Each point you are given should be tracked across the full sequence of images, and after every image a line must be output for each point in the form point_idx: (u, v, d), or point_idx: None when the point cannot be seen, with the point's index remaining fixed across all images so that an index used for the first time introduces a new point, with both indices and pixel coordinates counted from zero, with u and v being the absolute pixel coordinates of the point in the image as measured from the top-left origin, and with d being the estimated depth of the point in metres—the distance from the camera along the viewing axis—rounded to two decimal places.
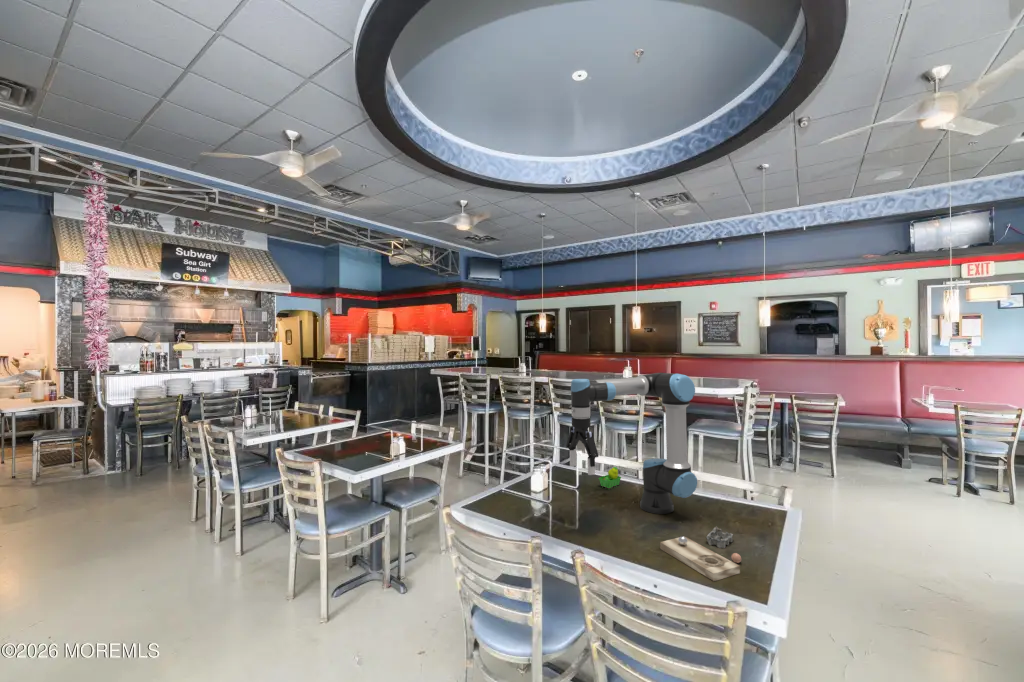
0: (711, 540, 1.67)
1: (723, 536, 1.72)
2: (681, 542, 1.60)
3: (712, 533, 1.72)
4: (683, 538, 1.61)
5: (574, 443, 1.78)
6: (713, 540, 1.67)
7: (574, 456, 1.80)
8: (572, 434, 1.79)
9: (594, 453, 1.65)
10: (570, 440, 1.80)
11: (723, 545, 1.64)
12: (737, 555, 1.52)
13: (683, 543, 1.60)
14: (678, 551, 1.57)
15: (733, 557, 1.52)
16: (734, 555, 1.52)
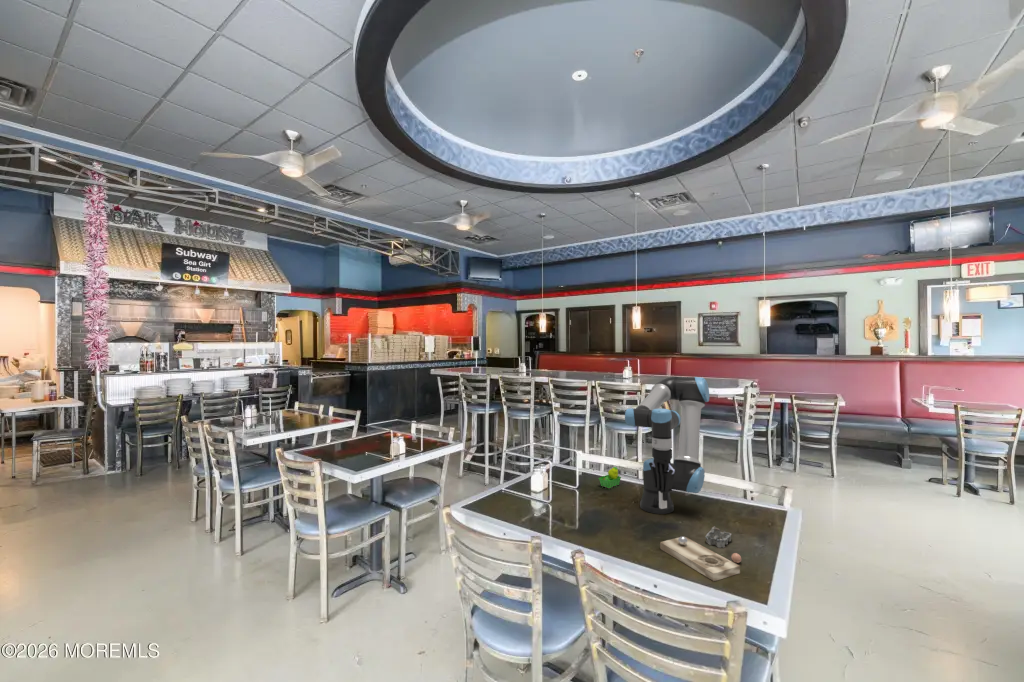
0: (710, 540, 1.67)
1: (721, 536, 1.72)
2: (681, 542, 1.60)
3: (711, 533, 1.72)
4: (683, 538, 1.61)
5: (660, 479, 1.71)
6: (712, 540, 1.67)
7: None
8: (654, 469, 1.74)
9: (669, 489, 1.67)
10: (655, 477, 1.74)
11: (722, 545, 1.64)
12: (737, 555, 1.52)
13: (683, 543, 1.60)
14: (678, 551, 1.57)
15: (733, 557, 1.52)
16: (734, 555, 1.52)
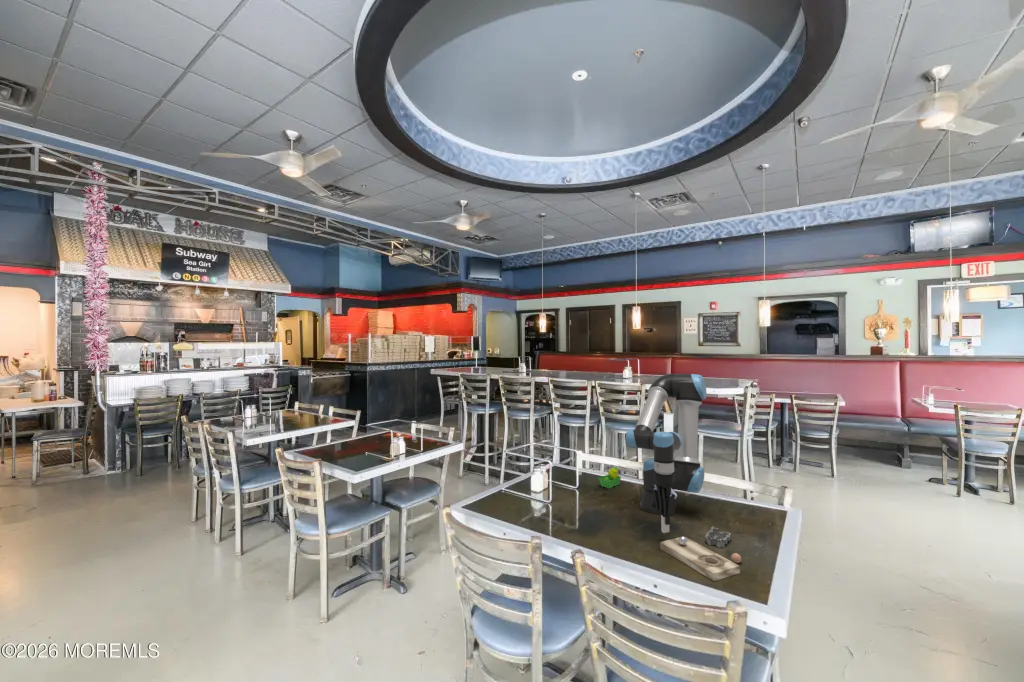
0: (710, 540, 1.67)
1: (720, 535, 1.72)
2: (681, 542, 1.60)
3: (710, 533, 1.72)
4: (683, 538, 1.61)
5: (662, 503, 1.70)
6: (712, 540, 1.67)
7: None
8: (656, 493, 1.74)
9: (671, 513, 1.66)
10: (657, 501, 1.73)
11: (722, 545, 1.65)
12: (737, 555, 1.52)
13: (683, 543, 1.60)
14: (678, 551, 1.57)
15: (733, 557, 1.52)
16: (734, 555, 1.52)
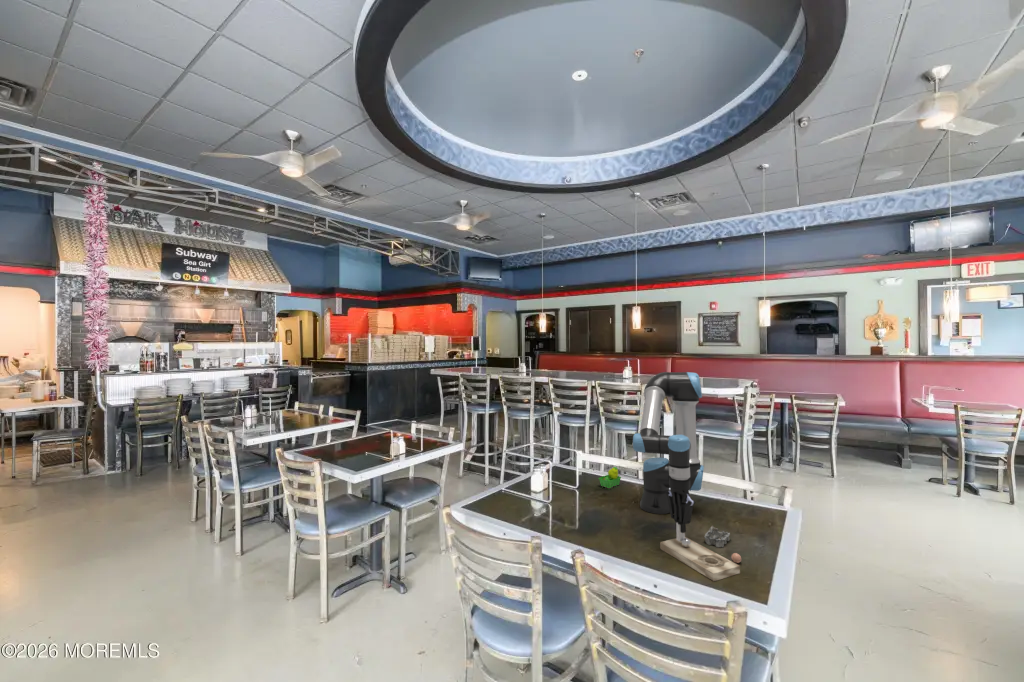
0: (709, 540, 1.67)
1: (720, 535, 1.73)
2: (683, 545, 1.59)
3: (709, 533, 1.72)
4: (688, 544, 1.59)
5: (678, 510, 1.63)
6: (711, 540, 1.67)
7: None
8: (671, 499, 1.66)
9: (687, 521, 1.59)
10: (672, 507, 1.65)
11: (721, 544, 1.65)
12: (737, 555, 1.52)
13: (685, 546, 1.59)
14: (678, 551, 1.57)
15: (733, 557, 1.52)
16: (734, 555, 1.52)
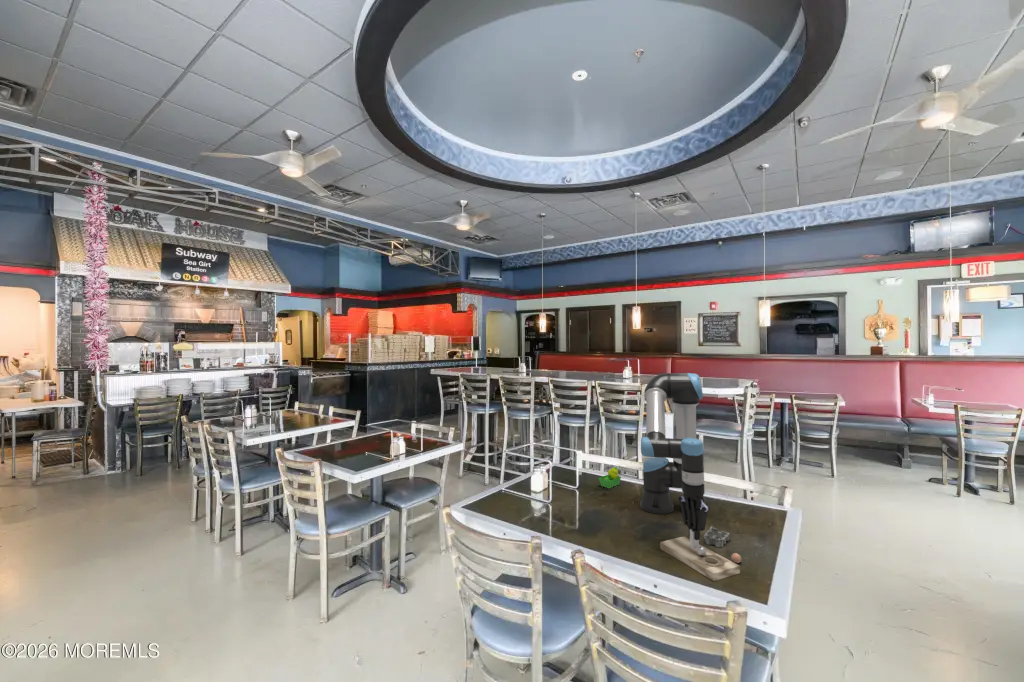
0: (709, 540, 1.67)
1: (719, 535, 1.73)
2: (699, 551, 1.52)
3: (709, 532, 1.72)
4: (699, 546, 1.53)
5: (691, 516, 1.57)
6: (711, 540, 1.67)
7: None
8: (684, 505, 1.60)
9: (701, 528, 1.53)
10: (685, 513, 1.59)
11: (721, 544, 1.65)
12: (737, 555, 1.52)
13: (702, 551, 1.52)
14: (678, 551, 1.57)
15: (733, 557, 1.52)
16: (734, 555, 1.52)
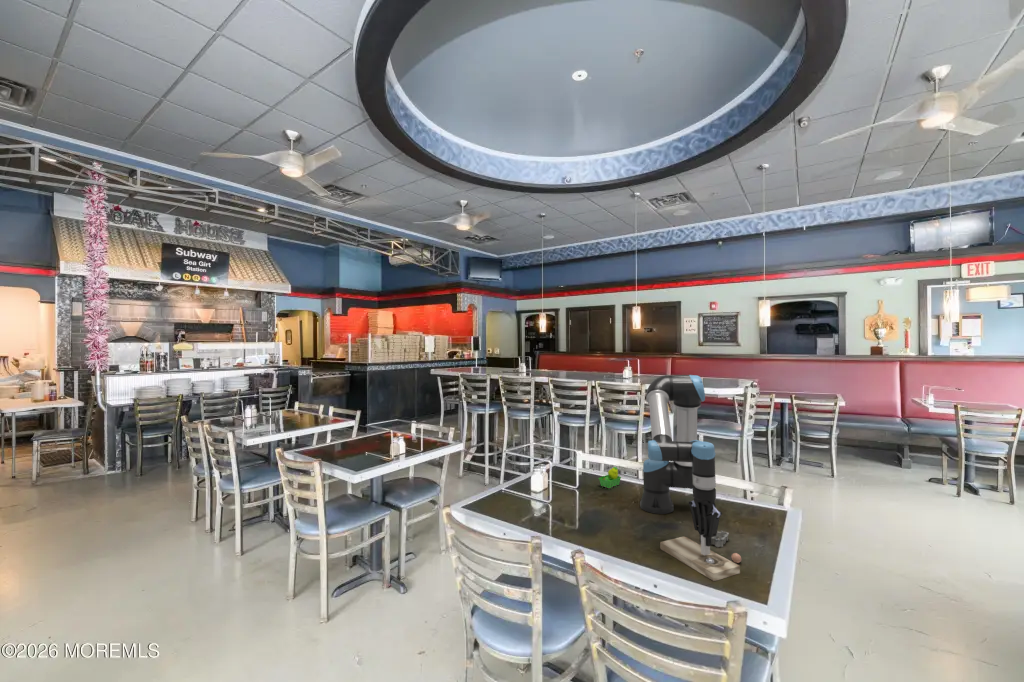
0: None
1: (718, 535, 1.73)
2: None
3: None
4: None
5: (702, 521, 1.52)
6: (711, 539, 1.67)
7: None
8: (695, 510, 1.55)
9: (713, 534, 1.48)
10: (696, 519, 1.55)
11: (721, 544, 1.65)
12: (737, 555, 1.52)
13: None
14: (678, 551, 1.57)
15: (733, 557, 1.52)
16: (734, 555, 1.52)
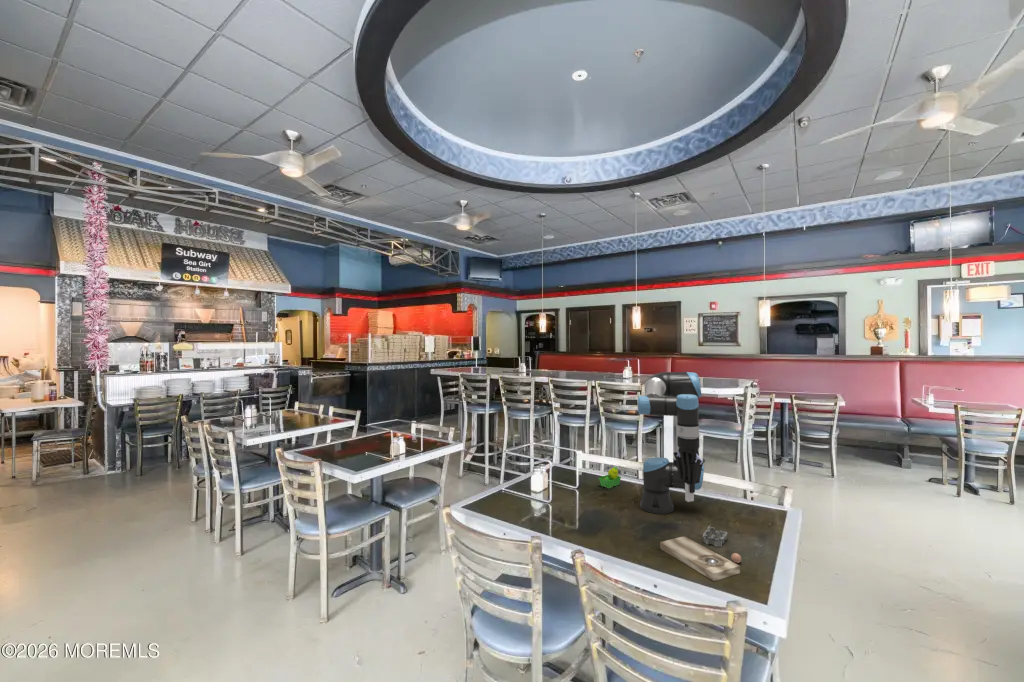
0: (708, 539, 1.67)
1: (717, 534, 1.73)
2: None
3: (707, 532, 1.72)
4: None
5: (686, 470, 1.59)
6: (710, 539, 1.67)
7: None
8: (679, 460, 1.62)
9: (696, 480, 1.55)
10: (680, 468, 1.61)
11: (720, 544, 1.65)
12: (737, 555, 1.52)
13: None
14: (678, 551, 1.57)
15: (733, 557, 1.52)
16: (734, 555, 1.52)
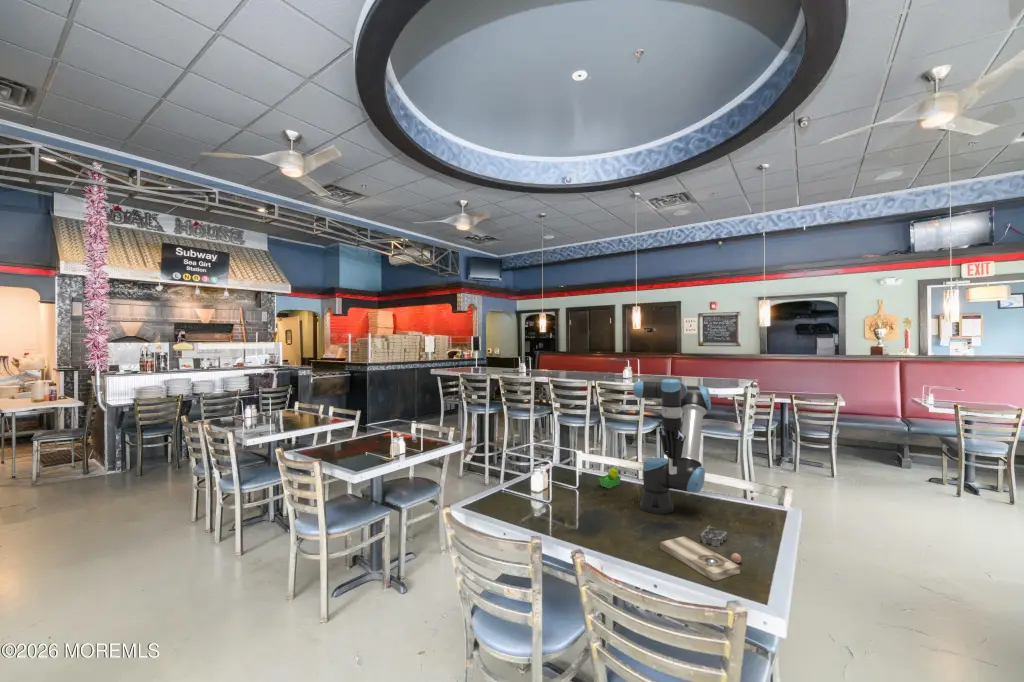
0: (705, 539, 1.68)
1: (716, 534, 1.73)
2: None
3: (706, 532, 1.73)
4: None
5: (670, 446, 1.79)
6: (707, 539, 1.68)
7: None
8: (664, 437, 1.82)
9: (678, 455, 1.75)
10: (665, 445, 1.81)
11: (717, 543, 1.66)
12: (737, 555, 1.52)
13: None
14: (678, 551, 1.57)
15: (733, 557, 1.52)
16: (734, 555, 1.52)
